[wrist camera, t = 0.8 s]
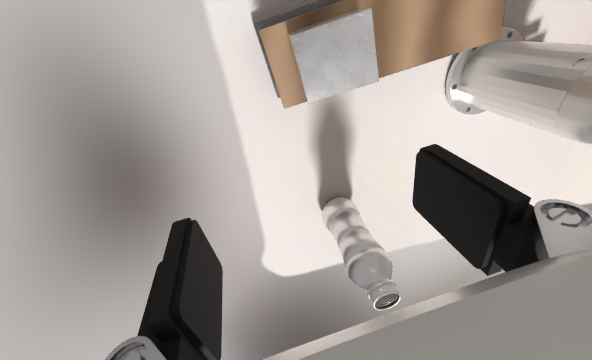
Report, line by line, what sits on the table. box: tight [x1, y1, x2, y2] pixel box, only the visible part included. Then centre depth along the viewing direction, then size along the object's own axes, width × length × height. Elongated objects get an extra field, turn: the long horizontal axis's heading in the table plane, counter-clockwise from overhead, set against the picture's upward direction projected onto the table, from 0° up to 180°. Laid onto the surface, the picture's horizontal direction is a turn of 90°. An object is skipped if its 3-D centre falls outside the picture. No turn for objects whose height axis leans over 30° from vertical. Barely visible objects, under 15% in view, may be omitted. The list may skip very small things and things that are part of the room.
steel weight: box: [288, 8, 379, 103], centre depth 24 cm, size 7×6×4 cm
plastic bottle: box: [322, 198, 401, 310], centre depth 40 cm, size 6×7×20 cm
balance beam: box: [259, 0, 506, 109], centre depth 26 cm, size 24×8×2 cm, turn 107°
